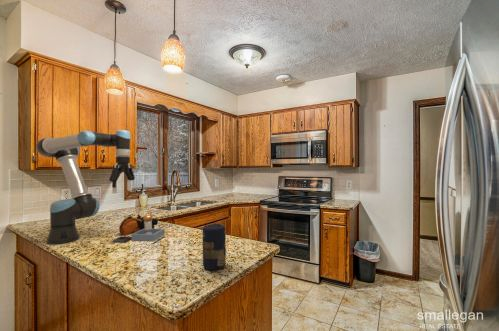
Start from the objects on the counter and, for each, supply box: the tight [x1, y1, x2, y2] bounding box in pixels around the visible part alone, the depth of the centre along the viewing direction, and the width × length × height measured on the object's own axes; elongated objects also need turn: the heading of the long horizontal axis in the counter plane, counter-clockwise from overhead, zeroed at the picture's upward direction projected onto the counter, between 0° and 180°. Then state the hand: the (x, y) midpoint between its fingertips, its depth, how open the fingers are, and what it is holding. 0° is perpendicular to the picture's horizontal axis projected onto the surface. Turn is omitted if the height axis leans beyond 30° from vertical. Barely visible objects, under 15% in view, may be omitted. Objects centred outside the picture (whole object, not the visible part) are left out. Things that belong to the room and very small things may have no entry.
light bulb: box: [142, 214, 154, 234], centre depth 142 cm, size 5×5×13 cm
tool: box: [118, 214, 159, 237], centre depth 157 cm, size 8×23×15 cm, turn 143°
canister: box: [202, 223, 227, 271], centre depth 103 cm, size 10×10×18 cm
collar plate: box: [107, 235, 131, 244], centre depth 138 cm, size 10×10×2 cm
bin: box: [130, 228, 166, 245], centre depth 142 cm, size 13×13×5 cm
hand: (122, 191), depth 148 cm, fingers open, 13 cm apart
